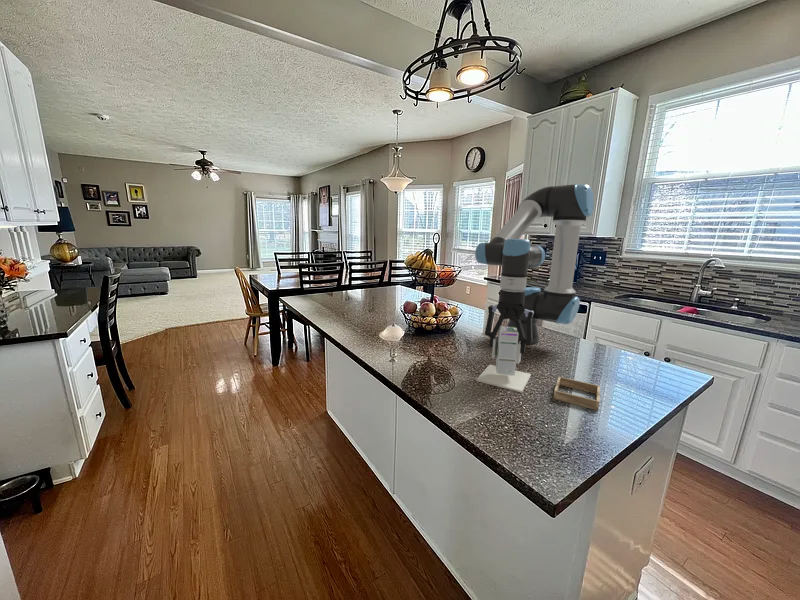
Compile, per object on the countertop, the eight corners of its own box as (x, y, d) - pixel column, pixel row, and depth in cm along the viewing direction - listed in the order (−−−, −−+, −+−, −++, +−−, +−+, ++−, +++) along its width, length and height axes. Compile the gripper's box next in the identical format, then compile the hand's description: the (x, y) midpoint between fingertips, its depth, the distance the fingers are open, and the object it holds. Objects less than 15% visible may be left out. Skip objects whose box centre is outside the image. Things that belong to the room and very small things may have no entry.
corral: (557, 383, 104) (558, 376, 103) (598, 393, 98) (599, 385, 97) (553, 398, 94) (554, 390, 94) (598, 410, 88) (599, 401, 88)
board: (489, 366, 116) (489, 364, 116) (530, 375, 109) (530, 374, 109) (476, 381, 104) (476, 379, 104) (521, 392, 97) (522, 391, 97)
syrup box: (515, 376, 103) (520, 332, 100) (495, 374, 104) (500, 330, 101) (512, 368, 108) (517, 327, 105) (494, 366, 109) (498, 325, 106)
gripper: (477, 287, 102) (472, 356, 107) (545, 295, 92) (536, 370, 97) (484, 284, 109) (479, 349, 113) (549, 291, 98) (540, 362, 103)
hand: (505, 359), depth 105 cm, fingers closed on syrup box, 7 cm apart
